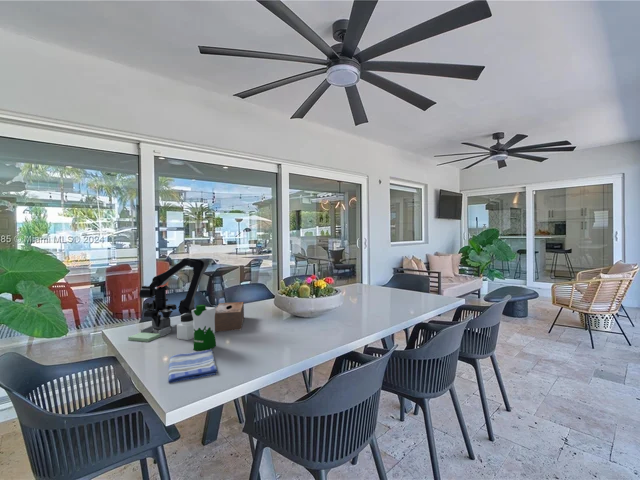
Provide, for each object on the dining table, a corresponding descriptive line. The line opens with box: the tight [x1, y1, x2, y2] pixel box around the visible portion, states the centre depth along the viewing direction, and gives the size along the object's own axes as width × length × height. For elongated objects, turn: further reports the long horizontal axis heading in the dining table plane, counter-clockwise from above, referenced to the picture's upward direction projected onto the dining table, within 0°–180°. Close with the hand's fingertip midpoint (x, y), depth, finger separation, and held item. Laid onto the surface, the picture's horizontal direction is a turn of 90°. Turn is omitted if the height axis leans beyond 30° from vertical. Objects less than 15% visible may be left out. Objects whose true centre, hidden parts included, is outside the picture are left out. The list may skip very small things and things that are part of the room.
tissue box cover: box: [215, 301, 245, 333], centre depth 185 cm, size 26×14×10 cm, turn 10°
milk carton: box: [191, 303, 217, 352], centre depth 146 cm, size 9×9×20 cm
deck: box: [127, 325, 171, 343], centre depth 165 cm, size 12×15×3 cm
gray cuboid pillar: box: [151, 316, 171, 330], centre depth 180 cm, size 8×5×5 cm, turn 73°
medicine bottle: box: [176, 313, 194, 341], centre depth 162 cm, size 7×7×12 cm
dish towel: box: [167, 349, 218, 383], centre depth 126 cm, size 17×24×3 cm
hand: (161, 325), depth 180 cm, fingers closed on gray cuboid pillar, 5 cm apart
